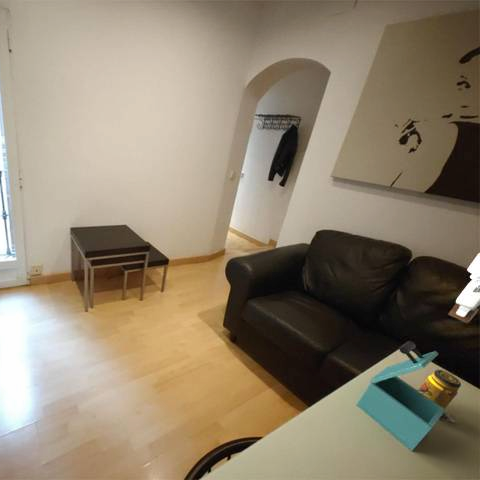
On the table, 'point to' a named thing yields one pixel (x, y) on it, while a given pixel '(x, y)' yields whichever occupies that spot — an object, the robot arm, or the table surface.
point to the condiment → (441, 390)
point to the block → (464, 319)
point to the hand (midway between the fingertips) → (462, 313)
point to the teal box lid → (406, 363)
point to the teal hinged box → (400, 410)
